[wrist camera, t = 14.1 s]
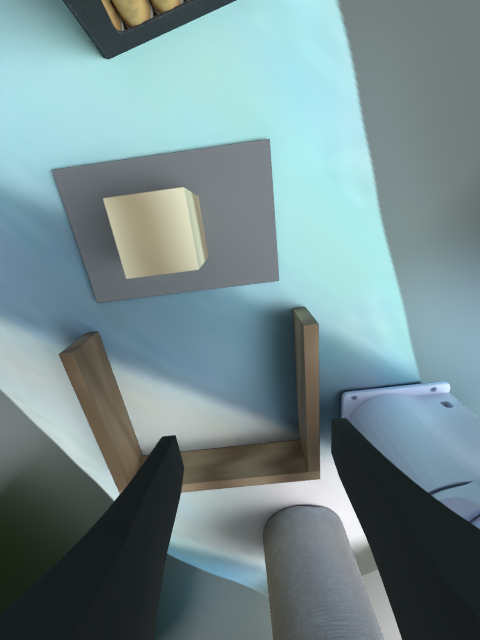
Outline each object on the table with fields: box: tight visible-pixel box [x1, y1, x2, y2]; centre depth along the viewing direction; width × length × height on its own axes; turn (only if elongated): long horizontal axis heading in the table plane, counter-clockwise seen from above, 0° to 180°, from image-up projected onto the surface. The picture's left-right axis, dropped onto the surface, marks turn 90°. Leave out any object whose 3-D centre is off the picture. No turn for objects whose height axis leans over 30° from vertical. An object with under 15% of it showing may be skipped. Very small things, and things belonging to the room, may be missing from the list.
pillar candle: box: [263, 506, 384, 640], centre depth 24 cm, size 10×10×15 cm
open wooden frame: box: [59, 307, 320, 494], centre depth 22 cm, size 18×15×4 cm
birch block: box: [103, 187, 208, 279], centre depth 15 cm, size 4×4×5 cm
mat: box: [52, 139, 279, 303], centre depth 18 cm, size 14×9×1 cm, turn 97°
